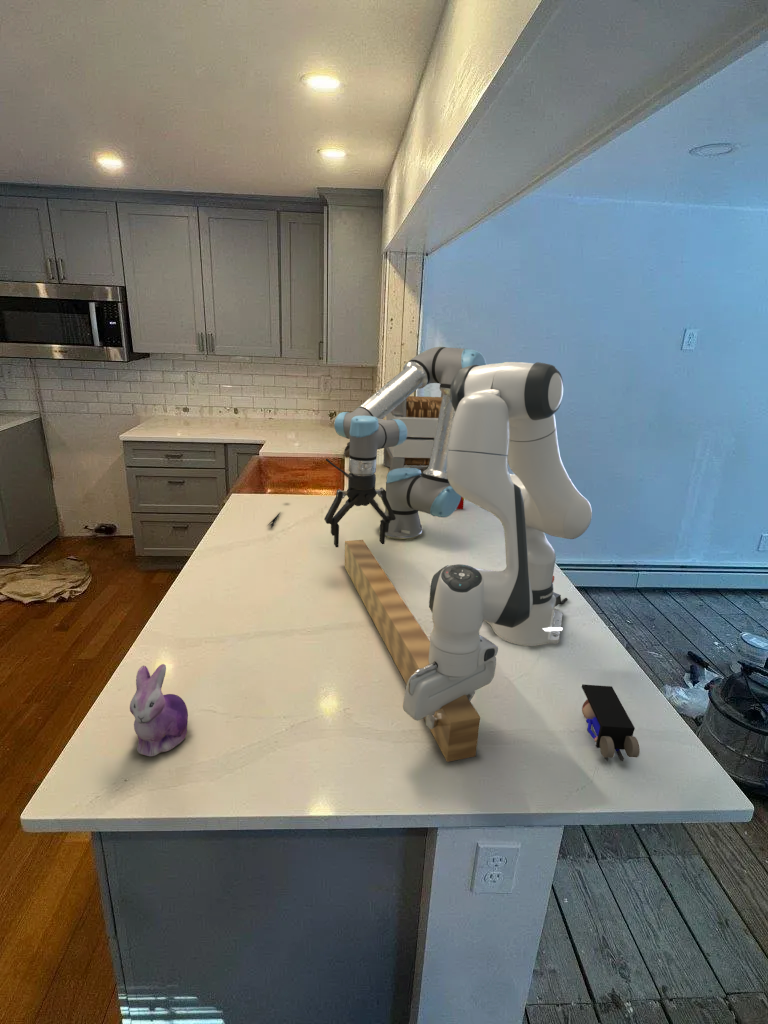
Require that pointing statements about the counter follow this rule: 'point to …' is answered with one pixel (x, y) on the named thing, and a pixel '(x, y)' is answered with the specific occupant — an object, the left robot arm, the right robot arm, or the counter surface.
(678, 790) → the counter surface
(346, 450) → the fossil
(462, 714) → the post
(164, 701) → the figurine
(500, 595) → the right robot arm
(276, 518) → the feather
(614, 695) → the figurine character
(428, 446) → the grey boxy frame
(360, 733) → the counter surface
